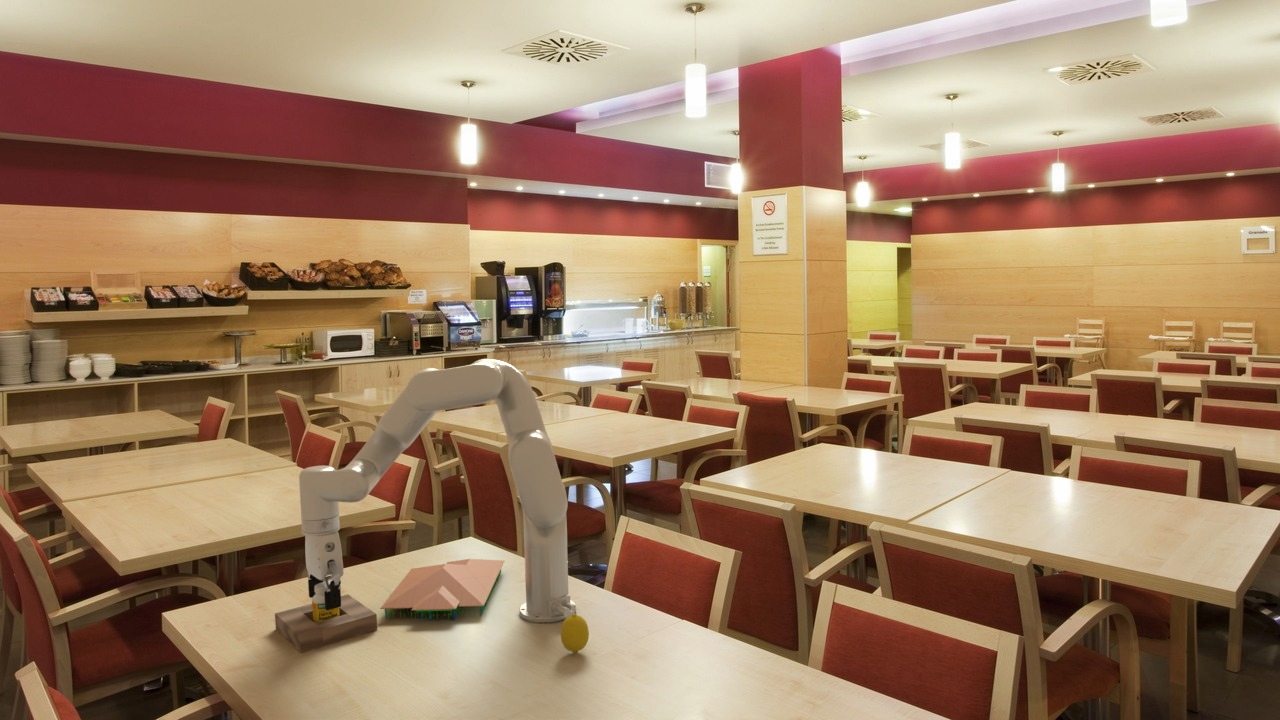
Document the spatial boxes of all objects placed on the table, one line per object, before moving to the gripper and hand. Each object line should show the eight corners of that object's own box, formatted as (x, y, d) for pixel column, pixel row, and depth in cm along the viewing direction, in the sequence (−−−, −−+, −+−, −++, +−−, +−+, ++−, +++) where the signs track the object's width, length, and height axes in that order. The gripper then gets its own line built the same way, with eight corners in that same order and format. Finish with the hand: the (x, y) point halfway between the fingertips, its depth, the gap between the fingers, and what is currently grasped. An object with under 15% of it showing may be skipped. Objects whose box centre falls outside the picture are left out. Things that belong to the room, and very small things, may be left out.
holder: (377, 629, 171) (376, 613, 171) (300, 652, 161) (299, 635, 161) (348, 609, 183) (347, 594, 183) (275, 629, 173) (274, 613, 173)
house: (376, 627, 174) (375, 591, 173) (416, 575, 207) (415, 544, 206) (482, 624, 174) (480, 588, 173) (504, 572, 207) (503, 542, 206)
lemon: (593, 649, 160) (592, 610, 159) (582, 661, 154) (581, 621, 154) (568, 645, 161) (567, 607, 161) (556, 657, 156) (555, 618, 156)
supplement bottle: (337, 620, 176) (334, 578, 175) (342, 629, 171) (340, 585, 171) (311, 626, 173) (308, 583, 172) (316, 635, 168) (314, 591, 168)
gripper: (353, 528, 166) (357, 608, 168) (323, 513, 179) (327, 587, 181) (317, 536, 161) (321, 618, 163) (289, 519, 174) (293, 595, 176)
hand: (324, 601), depth 172 cm, fingers open, 9 cm apart
